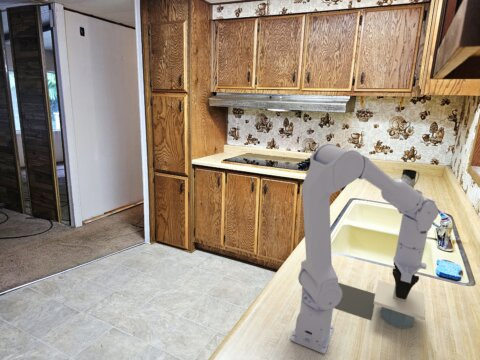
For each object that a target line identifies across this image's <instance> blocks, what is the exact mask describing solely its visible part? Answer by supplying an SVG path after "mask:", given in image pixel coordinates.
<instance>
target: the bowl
mask: <svg viewBox="0 0 480 360" xmlns="http://www.w3.org/2000/svg"><path fill="white" fill-rule="evenodd" d="M379 316H380V317H381V319H383V320H384V321H385V323H387V324H388V325H391V326H394V327H396V328H399V329H401V330H402V329H409V328H413V326H414V323H415V322H414V321H415V318H416V317H412V316H409V315H406V314H403V313H400V312H397V311H394V310H391V309H388V308H384V307H381V310H380V314H379Z"/></svg>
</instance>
